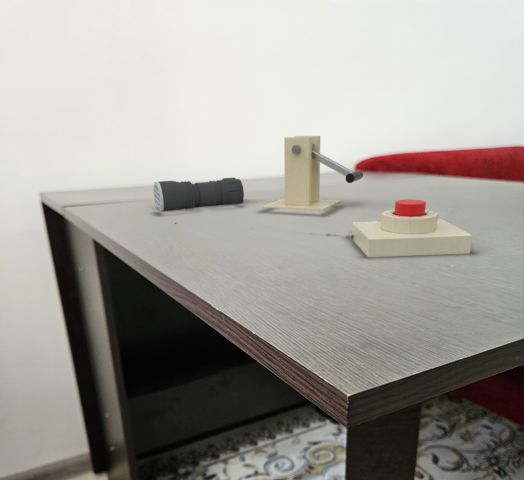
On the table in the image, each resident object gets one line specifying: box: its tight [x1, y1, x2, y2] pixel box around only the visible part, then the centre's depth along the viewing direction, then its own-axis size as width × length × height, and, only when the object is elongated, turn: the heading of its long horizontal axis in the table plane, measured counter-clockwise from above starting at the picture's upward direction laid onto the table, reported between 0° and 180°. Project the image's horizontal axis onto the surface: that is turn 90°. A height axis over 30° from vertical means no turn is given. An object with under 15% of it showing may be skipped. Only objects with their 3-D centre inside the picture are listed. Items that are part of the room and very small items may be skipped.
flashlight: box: [152, 177, 245, 212], centre depth 92 cm, size 15×5×5 cm, turn 113°
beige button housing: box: [350, 208, 473, 258], centre depth 64 cm, size 12×10×4 cm
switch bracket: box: [261, 135, 342, 212], centre depth 88 cm, size 11×9×12 cm
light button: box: [394, 199, 427, 217], centre depth 63 cm, size 4×4×2 cm
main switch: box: [311, 143, 364, 184], centre depth 85 cm, size 12×5×2 cm, turn 63°
